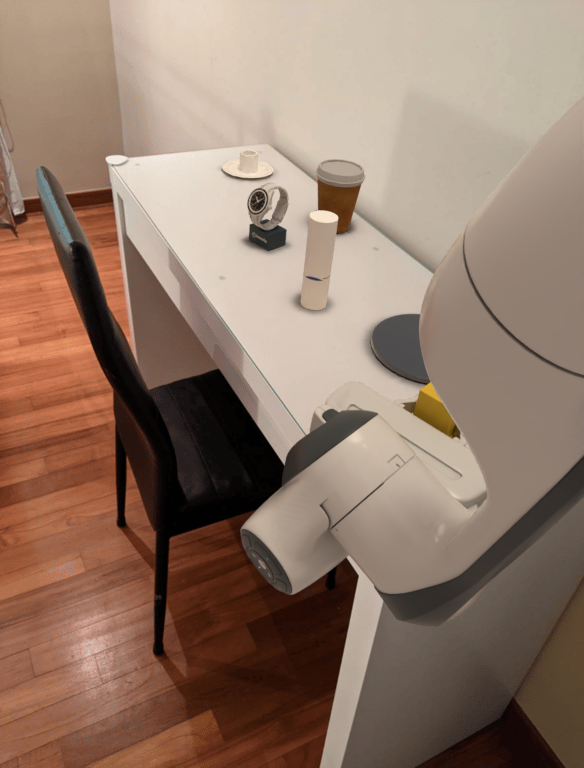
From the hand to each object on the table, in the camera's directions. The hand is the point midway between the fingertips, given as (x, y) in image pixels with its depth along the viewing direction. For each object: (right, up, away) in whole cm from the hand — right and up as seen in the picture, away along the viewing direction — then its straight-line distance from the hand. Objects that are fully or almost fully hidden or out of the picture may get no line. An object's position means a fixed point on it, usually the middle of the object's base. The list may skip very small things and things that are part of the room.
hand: (444, 413), depth 71 cm
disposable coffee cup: (-9, +35, +52) cm, 64 cm away
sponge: (-1, -4, +3) cm, 5 cm away
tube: (-14, +17, +29) cm, 36 cm away
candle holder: (-28, +53, +72) cm, 93 cm away
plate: (+3, +9, +21) cm, 23 cm away
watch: (-22, +30, +44) cm, 58 cm away
